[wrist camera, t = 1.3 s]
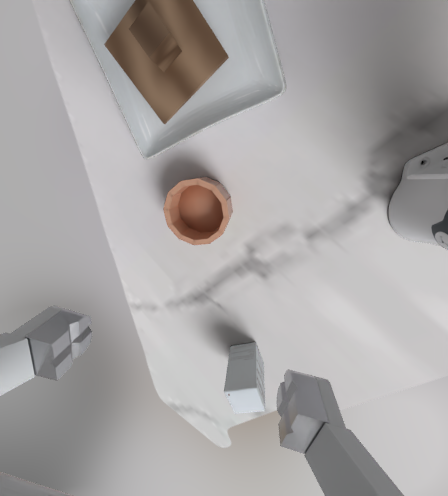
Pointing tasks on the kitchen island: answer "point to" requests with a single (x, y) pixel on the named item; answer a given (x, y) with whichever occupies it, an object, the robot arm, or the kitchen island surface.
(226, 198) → the terracotta bowl
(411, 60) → the kitchen island surface
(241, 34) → the square plate
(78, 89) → the kitchen island surface
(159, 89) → the walnut lid
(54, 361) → the robot arm
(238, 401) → the supplement box
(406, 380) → the kitchen island surface
